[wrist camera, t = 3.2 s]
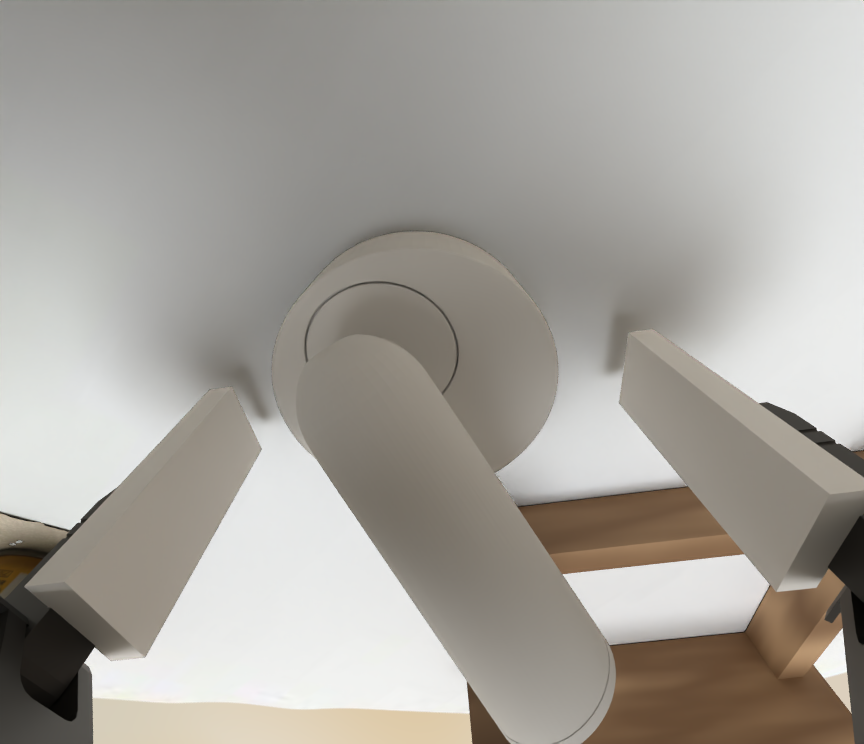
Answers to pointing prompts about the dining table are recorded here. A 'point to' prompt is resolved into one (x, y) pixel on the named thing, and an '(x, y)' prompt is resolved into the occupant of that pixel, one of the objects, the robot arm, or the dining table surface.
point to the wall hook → (447, 462)
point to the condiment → (23, 549)
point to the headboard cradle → (700, 656)
